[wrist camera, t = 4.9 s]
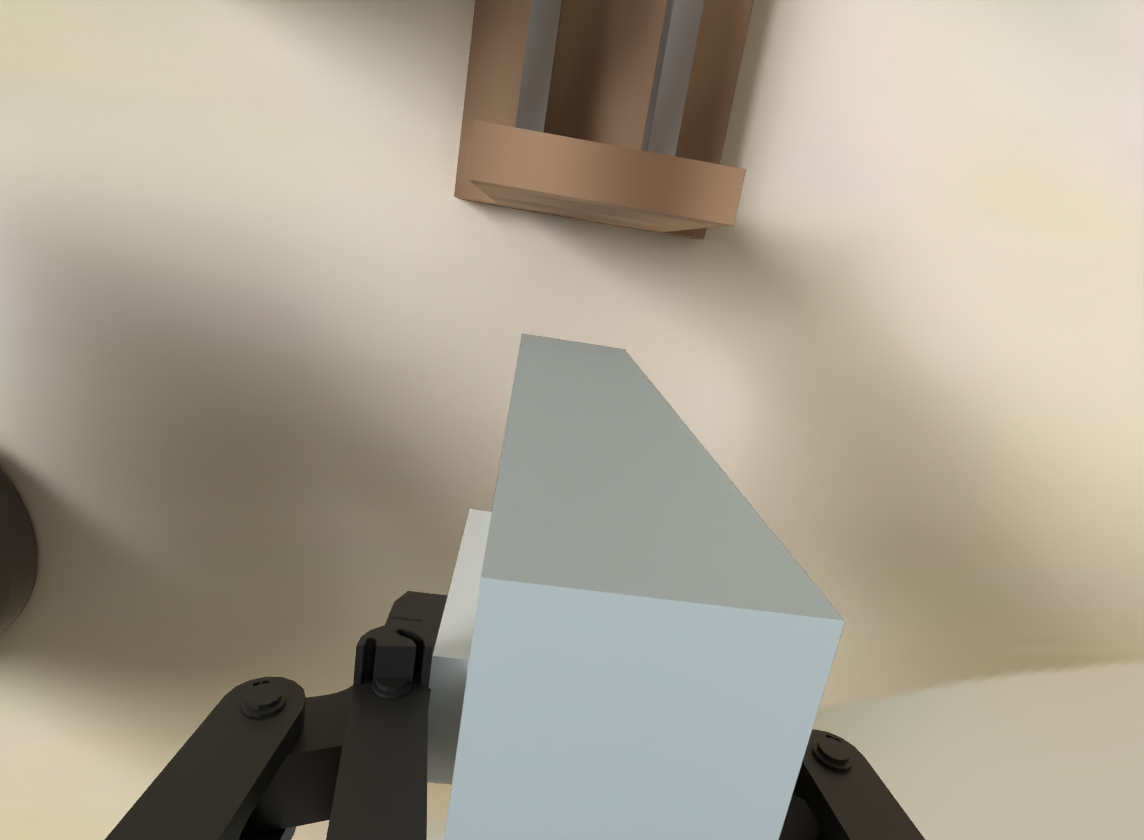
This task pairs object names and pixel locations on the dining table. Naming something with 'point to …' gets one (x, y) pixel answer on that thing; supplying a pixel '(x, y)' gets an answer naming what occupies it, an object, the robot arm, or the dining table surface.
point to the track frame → (604, 110)
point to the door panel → (630, 627)
